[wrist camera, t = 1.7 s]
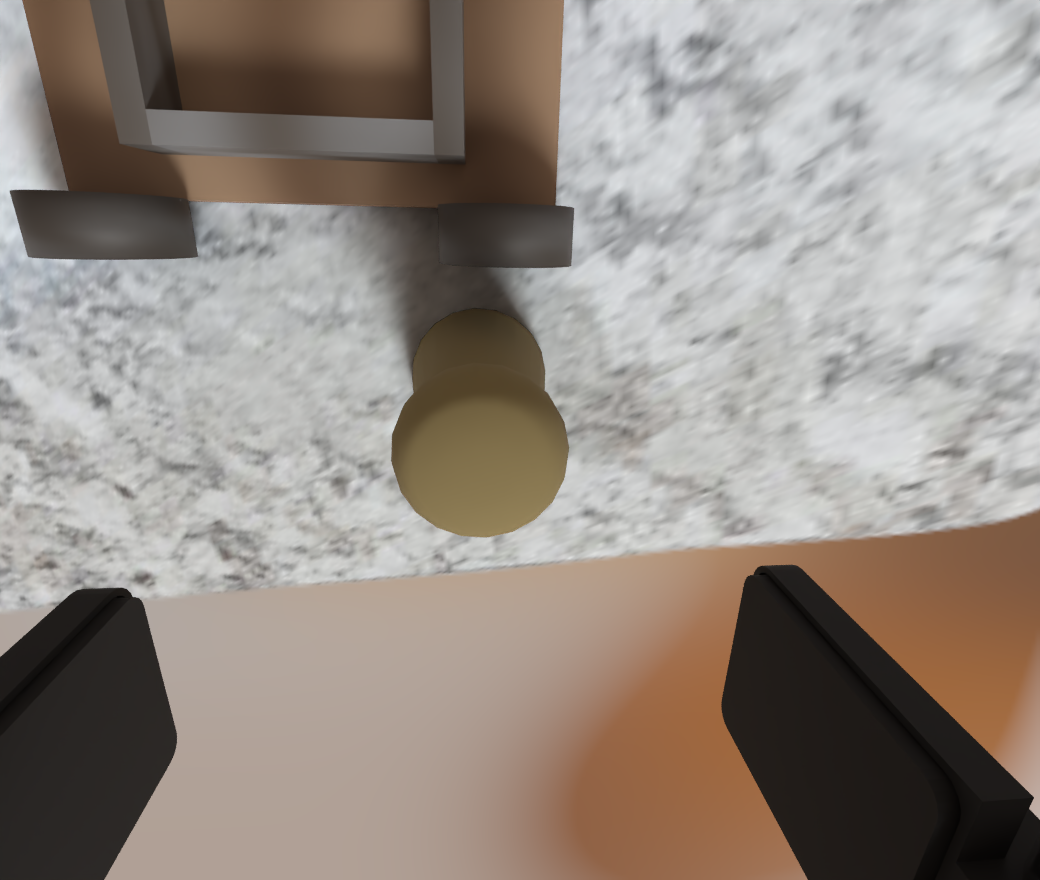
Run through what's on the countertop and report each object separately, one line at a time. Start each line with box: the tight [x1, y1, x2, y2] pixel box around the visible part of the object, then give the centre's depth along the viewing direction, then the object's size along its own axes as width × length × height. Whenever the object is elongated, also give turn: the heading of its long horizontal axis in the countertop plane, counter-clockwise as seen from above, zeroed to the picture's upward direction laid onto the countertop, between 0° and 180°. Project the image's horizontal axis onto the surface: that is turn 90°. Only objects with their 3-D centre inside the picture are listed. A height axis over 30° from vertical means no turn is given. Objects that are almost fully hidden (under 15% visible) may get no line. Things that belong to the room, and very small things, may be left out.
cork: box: [391, 308, 569, 537], centre depth 20 cm, size 6×6×11 cm
